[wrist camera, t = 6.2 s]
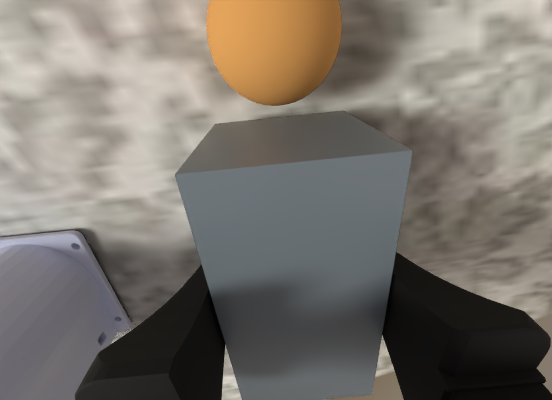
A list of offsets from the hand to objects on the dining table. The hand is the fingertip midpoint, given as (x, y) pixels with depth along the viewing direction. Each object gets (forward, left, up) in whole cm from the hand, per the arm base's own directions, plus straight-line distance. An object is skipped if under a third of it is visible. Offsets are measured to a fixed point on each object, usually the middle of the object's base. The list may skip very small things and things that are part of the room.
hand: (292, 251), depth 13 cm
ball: (+9, 0, -1) cm, 10 cm away
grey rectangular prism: (0, 0, -2) cm, 2 cm away
